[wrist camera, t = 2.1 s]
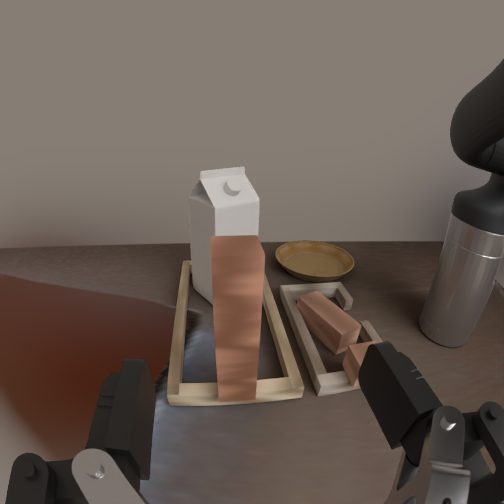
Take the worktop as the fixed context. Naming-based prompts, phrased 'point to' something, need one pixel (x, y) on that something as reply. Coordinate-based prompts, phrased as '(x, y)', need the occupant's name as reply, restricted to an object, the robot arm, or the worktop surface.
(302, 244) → the plant saucer
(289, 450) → the worktop surface
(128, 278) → the worktop surface
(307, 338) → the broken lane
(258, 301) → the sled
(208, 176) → the milk carton
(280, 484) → the worktop surface
